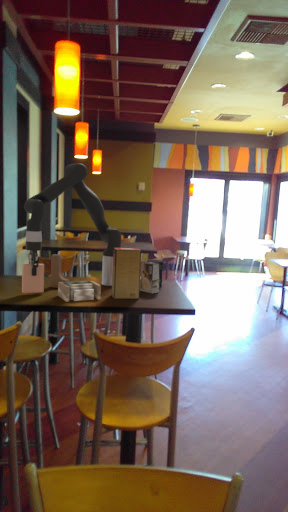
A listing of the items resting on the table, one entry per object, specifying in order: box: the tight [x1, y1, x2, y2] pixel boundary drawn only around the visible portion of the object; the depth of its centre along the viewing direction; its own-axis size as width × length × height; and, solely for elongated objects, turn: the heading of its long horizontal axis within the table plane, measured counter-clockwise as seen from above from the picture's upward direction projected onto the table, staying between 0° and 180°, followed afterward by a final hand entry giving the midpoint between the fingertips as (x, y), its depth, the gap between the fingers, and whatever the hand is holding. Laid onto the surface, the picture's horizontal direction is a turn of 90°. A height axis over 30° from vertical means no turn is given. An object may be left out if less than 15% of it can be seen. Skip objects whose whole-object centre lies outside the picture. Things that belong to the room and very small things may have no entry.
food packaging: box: [111, 247, 142, 300], centre depth 201 cm, size 13×9×25 cm
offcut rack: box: [57, 280, 102, 303], centre depth 196 cm, size 18×13×7 cm
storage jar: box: [146, 259, 164, 288], centre depth 235 cm, size 10×10×15 cm
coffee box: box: [139, 261, 160, 294], centre depth 218 cm, size 9×6×16 cm
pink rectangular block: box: [21, 263, 45, 294], centre depth 196 cm, size 10×3×14 cm, turn 119°
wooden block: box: [50, 253, 70, 289], centre depth 216 cm, size 9×4×18 cm, turn 81°
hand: (33, 274), depth 195 cm, fingers closed on pink rectangular block, 3 cm apart
